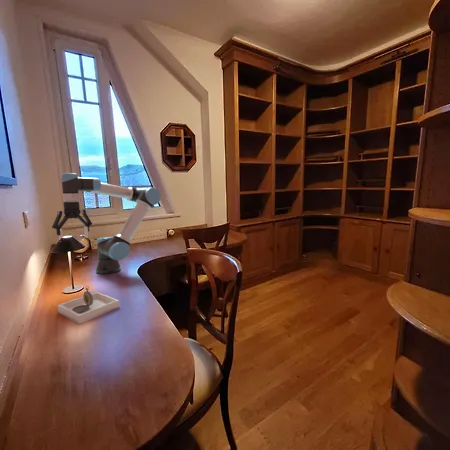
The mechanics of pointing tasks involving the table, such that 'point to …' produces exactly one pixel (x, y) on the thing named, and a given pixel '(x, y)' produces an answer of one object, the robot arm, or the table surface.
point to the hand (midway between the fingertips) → (74, 239)
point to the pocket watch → (89, 302)
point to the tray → (98, 307)
